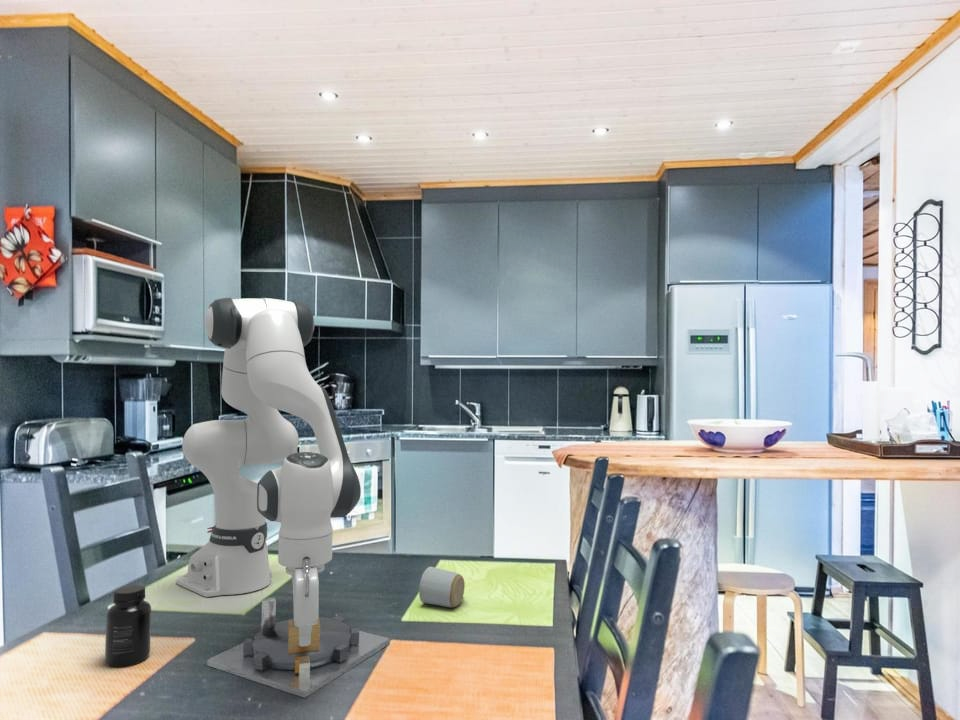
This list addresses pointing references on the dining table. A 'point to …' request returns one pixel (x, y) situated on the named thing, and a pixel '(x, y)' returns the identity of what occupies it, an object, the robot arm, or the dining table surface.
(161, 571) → the dining table surface
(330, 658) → the sprocket
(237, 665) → the base plate
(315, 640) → the tan block
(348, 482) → the robot arm
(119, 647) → the supplement bottle
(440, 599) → the ceramic mug
